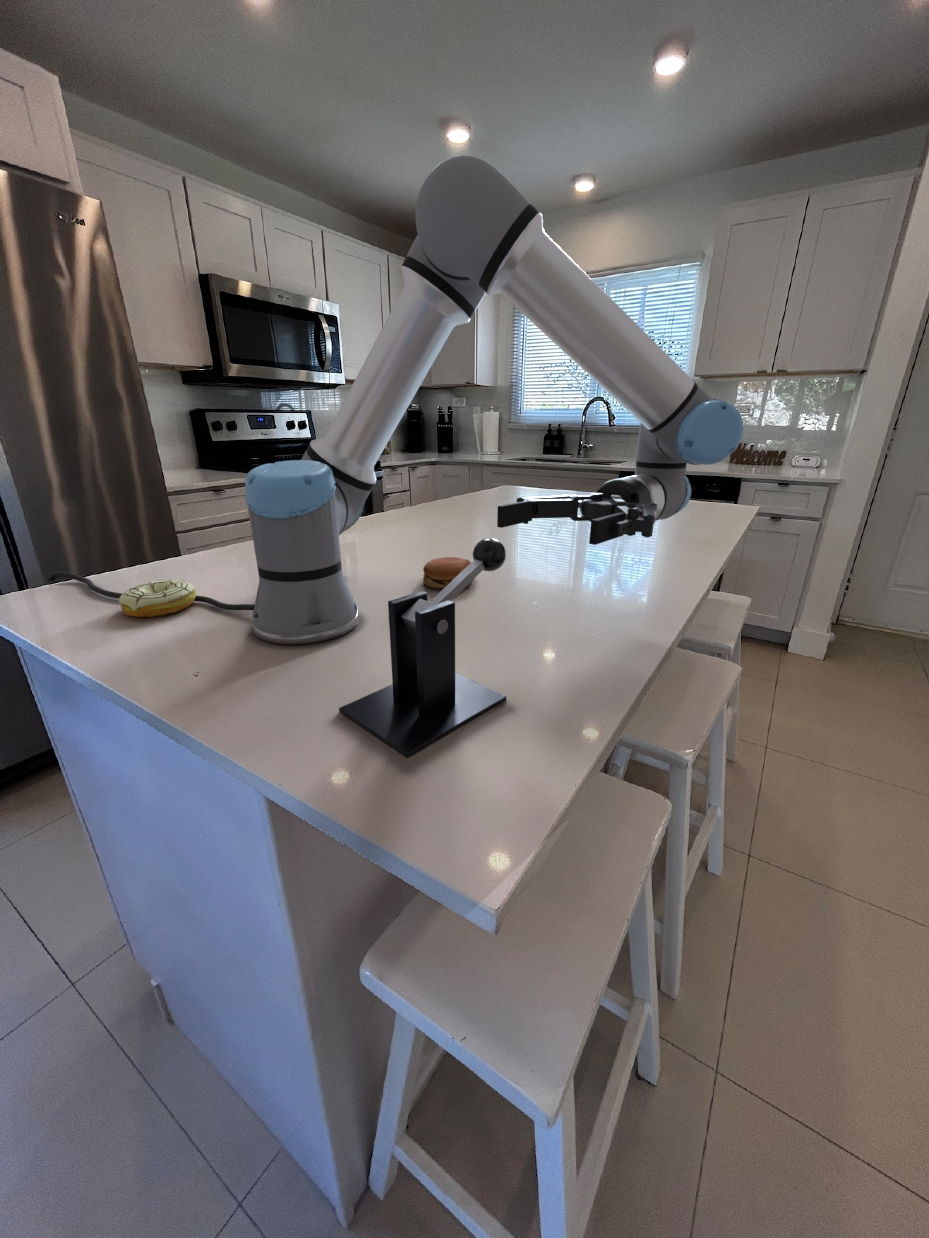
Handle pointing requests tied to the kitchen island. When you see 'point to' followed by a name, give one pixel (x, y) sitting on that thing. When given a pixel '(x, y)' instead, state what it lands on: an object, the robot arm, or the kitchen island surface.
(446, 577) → the burger
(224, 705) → the kitchen island surface
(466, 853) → the kitchen island surface
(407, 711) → the black stand
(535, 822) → the kitchen island surface
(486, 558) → the lever handle
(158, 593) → the decorated donut
